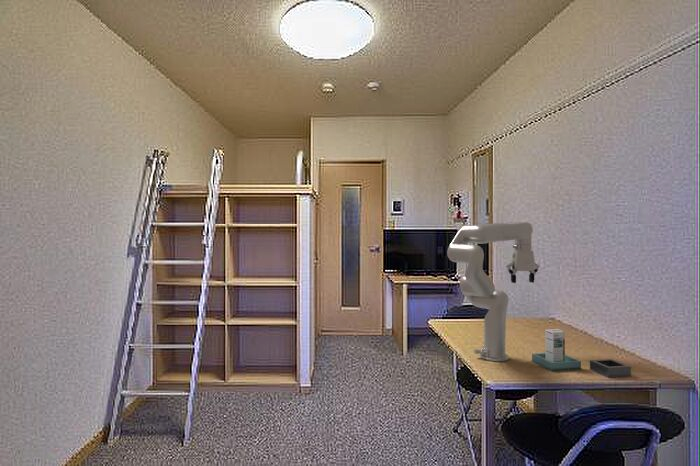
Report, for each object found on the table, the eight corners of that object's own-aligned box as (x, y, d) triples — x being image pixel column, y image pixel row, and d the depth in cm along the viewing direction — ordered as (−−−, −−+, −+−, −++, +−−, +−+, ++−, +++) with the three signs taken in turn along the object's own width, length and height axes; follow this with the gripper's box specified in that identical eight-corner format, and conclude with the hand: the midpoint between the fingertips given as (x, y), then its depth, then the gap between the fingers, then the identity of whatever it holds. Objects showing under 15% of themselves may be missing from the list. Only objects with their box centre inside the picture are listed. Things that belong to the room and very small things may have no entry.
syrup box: (553, 365, 195) (553, 331, 195) (544, 361, 201) (545, 328, 201) (564, 364, 196) (565, 331, 196) (556, 360, 202) (556, 328, 202)
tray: (551, 371, 190) (551, 363, 190) (531, 361, 204) (532, 353, 204) (580, 369, 193) (580, 361, 193) (559, 359, 207) (559, 352, 206)
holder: (608, 377, 182) (608, 367, 182) (589, 369, 193) (589, 360, 193) (630, 376, 184) (630, 366, 184) (611, 368, 195) (611, 359, 195)
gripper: (511, 248, 216) (510, 283, 217) (543, 248, 220) (543, 283, 220) (502, 247, 224) (502, 281, 224) (534, 247, 227) (534, 281, 227)
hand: (522, 282), depth 222 cm, fingers open, 9 cm apart
